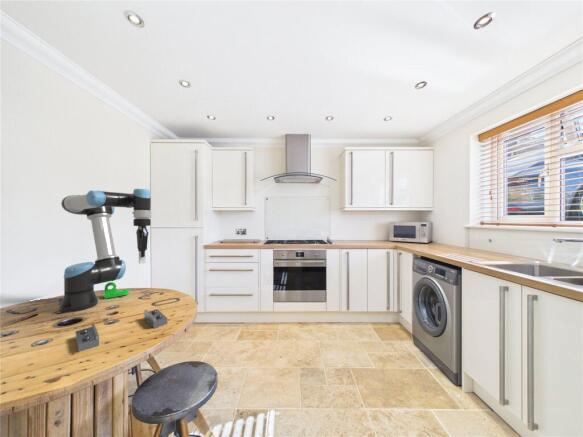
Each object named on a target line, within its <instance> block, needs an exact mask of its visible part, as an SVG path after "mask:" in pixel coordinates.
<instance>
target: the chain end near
mask: <svg viewBox="0 0 583 437" xmlns="http://www.w3.org/2000/svg"><path fill="white" fill-rule="evenodd" d="M75 341H76V345H77V346H76V347H77V350H78V352H79V353H80V352H83V351H86V350H90V349H92V348H95V347H99V346H100V335H99V332H98V330H97V328H96V325H95V323H91V327H89V326H88V327H87V328H82V329H79V330H76V331H75Z"/></svg>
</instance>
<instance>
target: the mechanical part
mask: <svg viewBox="0 0 583 437" xmlns="http://www.w3.org/2000/svg"><path fill="white" fill-rule="evenodd" d="M110 286H111V287H112V288H109V287H110ZM129 294H130V289H129V288H127V289H125V288H124V289H119V290H117V284H116V283H115V282H114V281H109V282H106V284H105V286H104V299H110V298H115V297H123V296H127V295H129Z"/></svg>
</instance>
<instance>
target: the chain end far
mask: <svg viewBox="0 0 583 437" xmlns="http://www.w3.org/2000/svg"><path fill="white" fill-rule="evenodd" d="M143 313H144V314H143V319H144V320H145V321H146V323H148V324H149V325H150V326H151V327H152V328H153V329H155V328H159V327H162V326H165V325H168V317H167V316H166V315H164V313H163V312H161V311H160V310H159V309H157V308H156V309H152V310H149V311H148V310H147V309H144V310H143Z"/></svg>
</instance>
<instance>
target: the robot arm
mask: <svg viewBox="0 0 583 437" xmlns="http://www.w3.org/2000/svg"><path fill="white" fill-rule="evenodd" d="M151 199H152V195H151V191H150V189H147V188H134V189H133V192H132V193H126V192H115V191H113V192H111V191H106V190H105V191H104V190H88V191H87V193H85V194H82V195H81V194H71V195H67V196H65V197H64V198H62V200H61V203H60V204H61V207H62V209H63V210H64V211H66V212H68V213H70V214H73V215H80V216H82V215H83V216H86V218H87V219H88V220H89V221H90V222H91V228H92V234H93V239H94V244H95V245H94V246H95V250H96V252H95V253H96V256H97V257H96V259H95V260H94V262H92V261H87V262H86V261H85V262H79V263H75V264H71V265H69V266H67V267H66V268H65V269H64V274H63V279H64V280H63V286H64V288H63V290H64V293H63V294H64V295H63V298H62V300H61V302H60V304H59V310H58V311H59V312H60V313H75V312H79V311H86V310H87V309H91V308H93V307H95V306H97V305H98V304H99V299H98V297H97V294H96V292H95V289H94V288H95V285H99V284H103V283H109V282H114V281H117V280H120V279H122V278H123V277H124V275H125V274H126V269H127V268H126V267H127V266H126V262H125V261H124V260H123V259H120V256H118V255H117V254H116V250H115V249H116V248H115V243H114V238H113V234H112V228H111V224H110V223H111V221H110V219H111V217H112V215H113V214H114V212H115V208H126V209H128V208H129V209H132V208H133V211H132V212H131V214H132V215H133V222H132V223H133V226H134V227H135V226H136V227H137V229H136V231H135V234H136V243H137V247H136V248H137V251H138V264H139V265H141V264H146V256H147V255H146V254H147V253H146V251H147V250H148V240H149V239H148V238H149V231H148V229H147V227H150V226H151V225H152V224H151V223H152V222H151V216H152V212H151V210H152V209H151V206H152V202H151V201H152V200H151Z"/></svg>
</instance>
